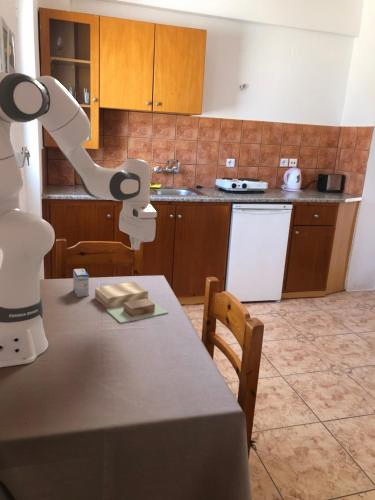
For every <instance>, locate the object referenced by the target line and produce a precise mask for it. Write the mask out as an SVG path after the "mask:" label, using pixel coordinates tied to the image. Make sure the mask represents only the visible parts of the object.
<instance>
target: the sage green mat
mask: <svg viewBox="0 0 375 500" xmlns="http://www.w3.org/2000/svg"><path fill="white" fill-rule="evenodd" d="M150 301H151V302H152V303H154V304H155V312H154V313H149V314H144V315H139V316H134V317H130V316H129V315H128V314H127V313H125V312H124V311H123V307H124V306H120V307H115V308H110V309H107V308H106V309H105V310H106V312H107V314H108V313H109V314H110V316H112V317H113V318H114V319H115V320H116V321H117V322H118V323H119V324H121V325H122V324H124V323H129V322H133V321H138V320H142V319H149V318H153V317H158V316H163V315H167V314H169V312H168V311H167V310H166V309H165V308H164V307H162V306H160V305H159V304H157V303H156V302H154V300H150Z"/></svg>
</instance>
